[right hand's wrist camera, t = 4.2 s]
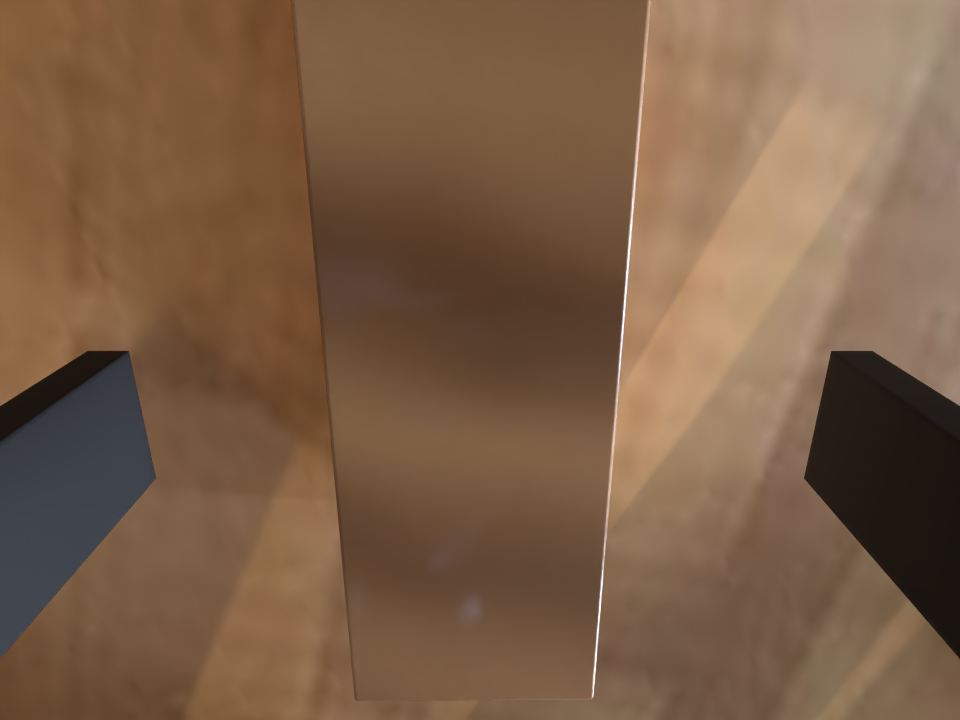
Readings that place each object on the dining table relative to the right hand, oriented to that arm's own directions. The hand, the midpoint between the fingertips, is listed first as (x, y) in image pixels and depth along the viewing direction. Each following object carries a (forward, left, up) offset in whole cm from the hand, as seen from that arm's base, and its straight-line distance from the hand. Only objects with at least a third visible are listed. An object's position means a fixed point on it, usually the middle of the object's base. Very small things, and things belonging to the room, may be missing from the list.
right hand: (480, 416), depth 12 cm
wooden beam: (+12, -21, -9) cm, 26 cm away
